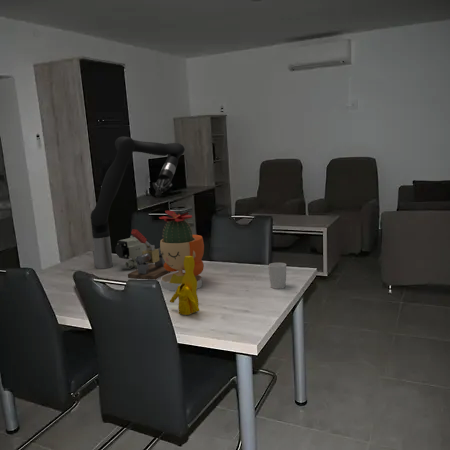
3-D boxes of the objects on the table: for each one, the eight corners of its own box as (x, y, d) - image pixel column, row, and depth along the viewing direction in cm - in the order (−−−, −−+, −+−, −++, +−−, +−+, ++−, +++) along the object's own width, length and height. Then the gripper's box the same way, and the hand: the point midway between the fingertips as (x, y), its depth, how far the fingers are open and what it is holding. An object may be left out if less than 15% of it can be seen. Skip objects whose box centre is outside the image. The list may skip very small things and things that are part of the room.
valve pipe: (135, 274, 224) (133, 249, 222) (158, 264, 242) (156, 241, 240) (145, 275, 222) (143, 249, 220) (167, 265, 240) (165, 241, 237)
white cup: (288, 284, 201) (287, 262, 199) (285, 289, 194) (284, 267, 192) (271, 283, 204) (270, 262, 202) (267, 288, 196) (266, 266, 195)
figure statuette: (166, 310, 177) (162, 256, 173) (182, 304, 182) (178, 252, 178) (195, 321, 164) (191, 263, 160) (211, 314, 169) (207, 258, 166)
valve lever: (148, 249, 231) (131, 233, 217) (149, 245, 232) (132, 229, 218) (152, 249, 230) (135, 233, 216) (153, 245, 231) (136, 229, 217)
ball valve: (126, 272, 237) (123, 239, 234) (117, 270, 243) (113, 238, 240) (152, 264, 251) (150, 233, 248) (143, 262, 256) (140, 232, 253)
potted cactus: (183, 293, 196) (177, 215, 190) (152, 285, 211) (145, 212, 205) (217, 281, 212) (212, 208, 206) (185, 274, 227) (180, 206, 221)
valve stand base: (128, 277, 227) (127, 273, 227) (150, 267, 245) (150, 263, 244) (154, 280, 220) (154, 276, 220) (175, 269, 238) (175, 265, 237)
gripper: (154, 168, 254) (143, 192, 245) (174, 167, 248) (164, 192, 239) (160, 177, 260) (150, 201, 251) (180, 176, 254) (170, 200, 245)
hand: (157, 196), depth 245 cm, fingers closed
